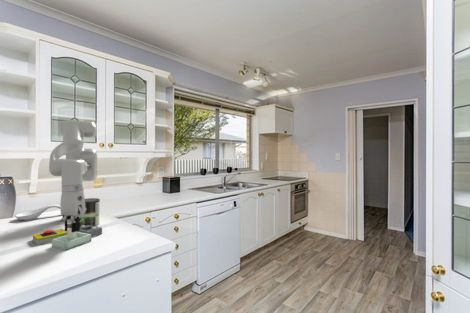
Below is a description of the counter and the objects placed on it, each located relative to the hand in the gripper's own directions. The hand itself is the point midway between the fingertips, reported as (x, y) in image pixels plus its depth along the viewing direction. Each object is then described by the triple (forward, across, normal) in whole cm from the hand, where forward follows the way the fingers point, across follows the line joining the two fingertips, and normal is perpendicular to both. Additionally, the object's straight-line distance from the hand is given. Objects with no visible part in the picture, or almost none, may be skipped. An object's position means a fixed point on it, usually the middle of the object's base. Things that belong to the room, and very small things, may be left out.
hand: (72, 230), depth 104 cm
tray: (+6, 0, 0) cm, 6 cm away
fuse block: (+6, +5, -11) cm, 13 cm away
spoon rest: (+6, +60, -21) cm, 64 cm away
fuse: (+4, 0, 0) cm, 4 cm away
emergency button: (+7, +14, 0) cm, 16 cm away
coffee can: (+6, +18, -21) cm, 28 cm away
